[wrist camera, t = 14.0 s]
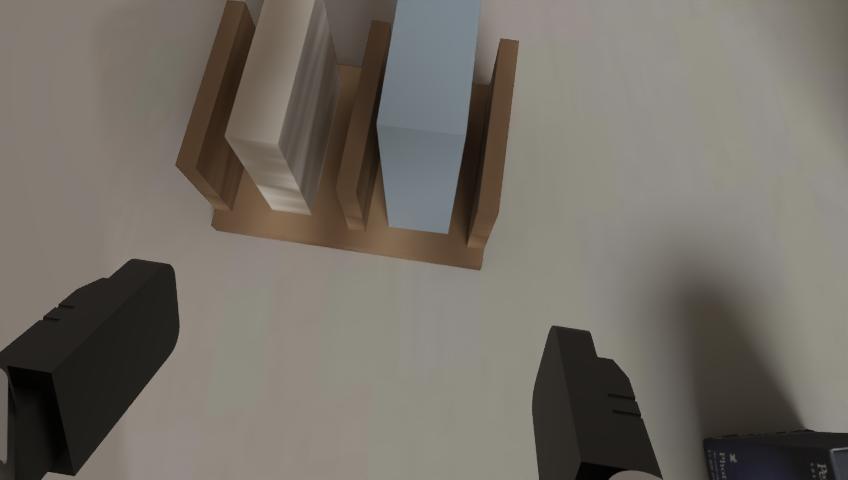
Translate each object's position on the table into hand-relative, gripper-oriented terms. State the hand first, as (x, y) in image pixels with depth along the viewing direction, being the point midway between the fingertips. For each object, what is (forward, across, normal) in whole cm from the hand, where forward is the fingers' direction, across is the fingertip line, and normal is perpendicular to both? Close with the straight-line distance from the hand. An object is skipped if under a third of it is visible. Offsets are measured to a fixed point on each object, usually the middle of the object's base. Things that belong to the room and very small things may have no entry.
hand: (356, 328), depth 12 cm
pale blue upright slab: (+23, 0, +5) cm, 24 cm away
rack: (+24, +4, +5) cm, 25 cm away
